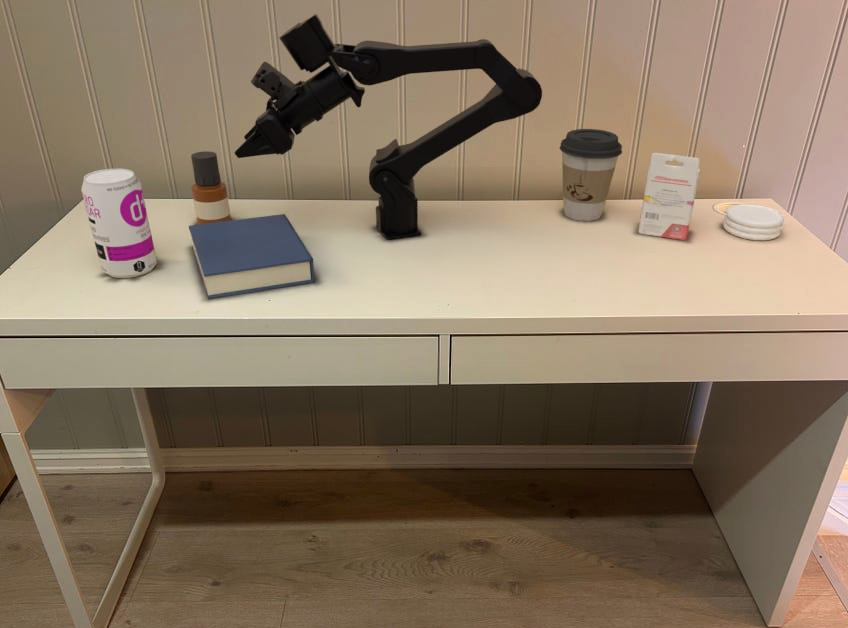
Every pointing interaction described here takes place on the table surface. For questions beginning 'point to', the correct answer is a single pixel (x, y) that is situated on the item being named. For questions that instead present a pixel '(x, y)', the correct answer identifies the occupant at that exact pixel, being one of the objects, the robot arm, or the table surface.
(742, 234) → the white layered disc
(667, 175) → the ink cartridge box
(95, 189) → the supplement can
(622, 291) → the table surface
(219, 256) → the book
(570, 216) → the coffee cup
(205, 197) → the brown striped cylinder
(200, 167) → the cap
